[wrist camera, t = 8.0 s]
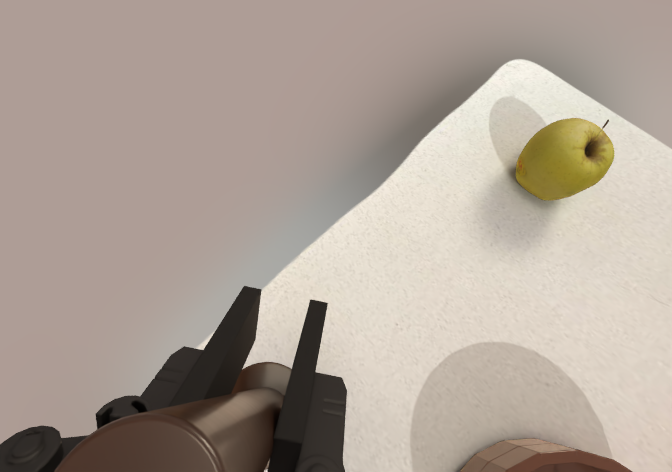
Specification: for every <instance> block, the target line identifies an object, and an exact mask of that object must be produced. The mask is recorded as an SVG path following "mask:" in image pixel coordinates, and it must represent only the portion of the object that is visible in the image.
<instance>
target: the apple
mask: <svg viewBox="0 0 672 472" xmlns="http://www.w3.org/2000/svg"><path fill="white" fill-rule="evenodd" d="M608 122H609V120H607V122H606V123H605V125H604V126H603V128H604V127H605V126H606V124H607V123H608ZM603 128H602V129H603ZM602 129H601V128H600V127H598V126H597V125H595V124H594V123H592V122H589V121H587V120H584V119H579V118H570V119H564V120H559V121H556V122H553V123H551V124H550V125H548V126H546V127H544V128H543V129H541V130H540V131H538V132H537V133H536V134H535V135H534V136H533V137H532V138H531V139H530V140H529V142H528V143H527V145H526V146H525V147H524V149H523V151H522V152H521V154H520V156H519V158H518V161H517V165H516V179H517V181H518V182H519V184H520V185H521V186H522V187H524V188H525V189H526V190H527V191H528V192H530V193H531V194H533V195H535V196H536V197H538V198H540V199H542V200H557V199H562V198H565V197H570V196H572V195H574V194H576V193H578V192H581V191H583V190H585V189H587V188H589V187H591V186H593V185H595V184H596V183H597V182H598V181H600V180H601V179H602V178H603V176H604V175H605V174H606V172H607V171H608V169H609V168H610V166H611V164H612V162H613V159H614V148H613V144H612V142H611V140H610V139H609V137H608V136H607V135H606V134H605V132H604V131H603V130H602Z"/></svg>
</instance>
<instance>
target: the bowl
mask: <svg viewBox="0 0 672 472" xmlns="http://www.w3.org/2000/svg"><path fill="white" fill-rule="evenodd" d="M460 472H632V471H631V470H629V469H628V468H626V467H624V466H623V465H621V464H620V463H618V462H617V461H615V460H612V459H609V458H605V457H602V456H598V455H595V454H591V453H588V452H584V451H581V450H577V449H573V448H570V447H566V446H562V445H558V444H554V443H551V442H547V441H543V440H539V439H535V438H528V439H516V440H504V441H500V442H498V443H497V444H495V445H493V446H491V447H489V448H487V449H485V450H483V451H481V452H479V453H477V454H475V455H474V456H473V457H472V458H471V459H470V460H469V461H468V463H467V464H466V465H465V466H464V467H463V468H462V469H461V471H460Z"/></svg>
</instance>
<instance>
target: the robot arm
mask: <svg viewBox="0 0 672 472" xmlns="http://www.w3.org/2000/svg"><path fill="white" fill-rule="evenodd" d="M260 296H261V289H256V288H251V287H247V286H244V287H243V289H242V290H241V292H240V293H239V295H238V297H237V298H236V300H235V301H234V303H233V304H232V306H231V308H230V309H229V311H228V312H227V314H226V315H225V317H224V319H223V320H222V322H221V324H220V325H219V327H218V328H217V330H216V331H215V333H214V334H213V336H212V338H211V339H210V341H209V342H208V344H207V346H206V347H205V349H204V350H199V349H194V348H189V347H183V348H181V349H180V350H178V351H177V352H175V353H174V354H172V355H171V356H170V357H169V359H168V360H167V361H166V363H165V364H164V366H163V367H162V369H161V370H160V371H159V372H158V373H157V375H156V376H155V379H153V380H152V381H151V383H150V384H149V385H148V387H147V388H146V390H145V391H144V392H143V394H142V395H141V396H140V397H139V396H124V397H121V398H118V399H114V400H113V401H111V402H109V403H107V404H106V405H104V406H103V407H102V408H101V409H100V410H99V411H98V412H97V413H96V420H97V430H98V429H99V428H101V427H103V426H105V425H106V424H108V423H110V422H112V421H115V420H117V419H120V418H123V417H126V416H130V415H134V414H138V413H143V412H148V411H152V410H157V409H162V408H167V407H171V406H176V405H181V404H186V403H190V402H195V401H200V400H205V399H209V398H214V397H219V396H223V395H228V394H231V393H232V390H233V388H234V386H235V384H236V381H237V379H238V377H239V375H240V372H241V370H242V368H243V366H244V364H245V361H246V359H247V357H248V355H249V352H250V350H251V348H252V346H253V344H254V341H255V338H256V330H257V321H258V313H259V305H260ZM327 304H328V303H325V302H320V301H315V300H310V303H309V307H308V311H307V314H306V318H305V322H304V326H303V329H302V333H301V337H300V341H299V344H298V348H297V352H296V355H295V359H294V363H293V367H292V370H291V374H290V378H289V382H288V385H287V389H286V393H285V396H284V400H283V404H282V408H281V411H280V415H279V419H278V423H277V426H276V430H275V434H274V437H273V451H272V454H271V457H270V461H269V467H268V472H345V469H344V466H343V444H344V428H345V412H346V396H347V389H346V387H345V384H344V382H343V379H342V378H341V377H336V376H331V375H326V374H321V373H316V372H315V370H316V365H317V359H318V354H319V348H320V343H321V337H322V332H323V326H324V321H325V315H326V310H327ZM88 436H89V435H88ZM86 437H87V436H79V437H71V438H70V437H69V438H61V437H60V433H59V431H57V430H56V429H55V428H53V427H48V426H38V427H32V428H28V429H26V430H23V431H21V432H18V433H16V434H15V435H13V436H12V437H10V438H9V439H7V440H6V441H4V442H3V443H2V444H0V472H54V471H55V469H56V468H57V467H58V466H59V464H60V463H61V462H62V461H63V459H64V458H65V457H66V456H67V455H68V454H69V453H70V452H71V451H72V450H73V449H74V448H75V447H76V446H77V445H78V444H79V443H80V442H81V441H82V440H84V439H85V438H86Z"/></svg>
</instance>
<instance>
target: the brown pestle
mask: <svg viewBox="0 0 672 472" xmlns="http://www.w3.org/2000/svg"><path fill="white" fill-rule="evenodd" d="M291 370H292V369H290V368H289V367H286V366H284V365H282V364H279V363H273V362H262V363H257V364H253V365H250V366H248V367H246V368H244V369H242V370H241V372H240V375H239V377H238V379H237V381H236V384H235V386H234V388H233V390H232V393H231V394H228V395H223V396H219V397H214V398H209V399H205V400H200V401H195V402H190V403H186V404H181V405H176V406H171V407H167V408H162V409H157V410H152V411H148V412H143V413H138V414H134V415H130V416H126V417H123V418H120V419H117V420H115V421H112V422H110V423H108V424H106V425H105V426H103V427H101V428H99V429H98V430H96V431H95V432H93V433H92V434H90V435H89V436H87V437H86V438H85V439H84V440H82V441H81V442H80V443H79V444H78V445H77V446H76V447H75V448H74V449H73V450H72V451H71V452H70V453H69V454H68V455H67V456H66V457H65V458H64V459H63V461H62V462H61V463H60V464H59V466H58V467H57V468H56V469H55V471H54V472H264V470H266V469H268V467H269V461H270V457H271V454H272V451H273V437H274V434H275V430H276V426H277V423H278V419H279V415H280V411H281V408H282V404H283V400H284V396H285V393H286V389H287V385H288V382H289V378H290V374H291Z"/></svg>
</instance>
